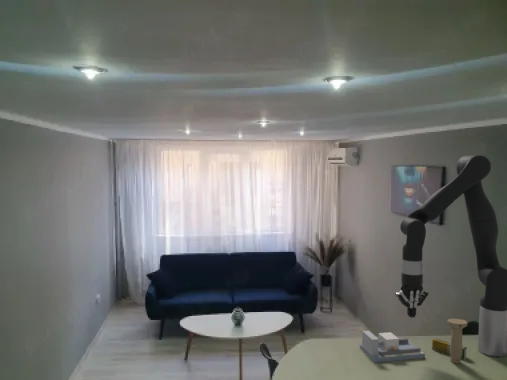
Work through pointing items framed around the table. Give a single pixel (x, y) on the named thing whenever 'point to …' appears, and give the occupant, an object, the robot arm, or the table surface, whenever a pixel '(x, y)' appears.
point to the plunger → (388, 341)
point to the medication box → (446, 347)
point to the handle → (456, 339)
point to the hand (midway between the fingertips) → (411, 316)
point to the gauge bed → (380, 355)
